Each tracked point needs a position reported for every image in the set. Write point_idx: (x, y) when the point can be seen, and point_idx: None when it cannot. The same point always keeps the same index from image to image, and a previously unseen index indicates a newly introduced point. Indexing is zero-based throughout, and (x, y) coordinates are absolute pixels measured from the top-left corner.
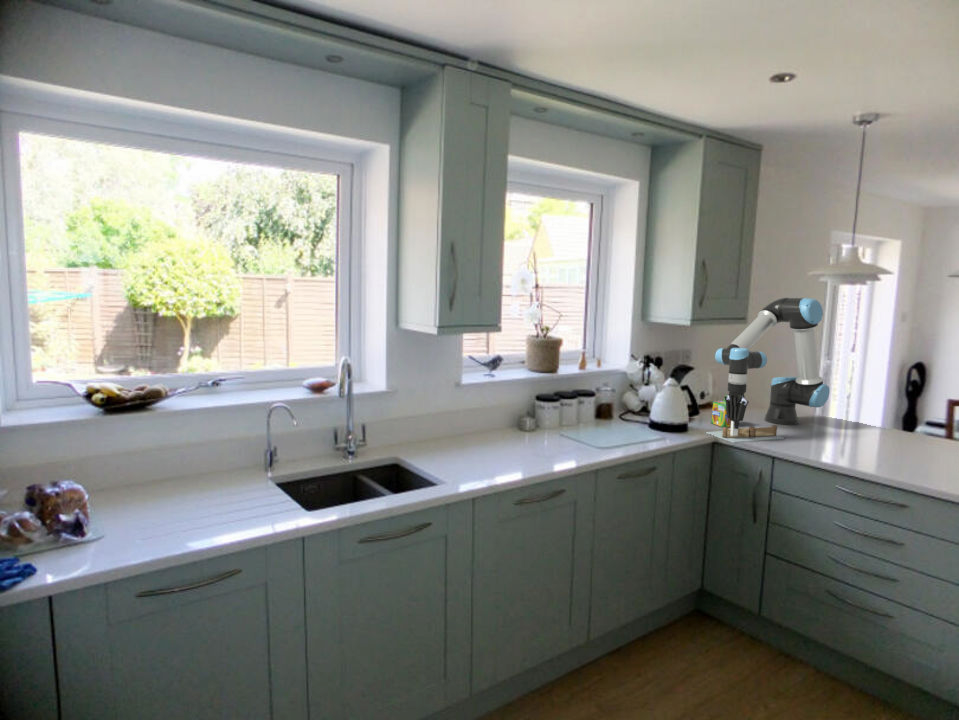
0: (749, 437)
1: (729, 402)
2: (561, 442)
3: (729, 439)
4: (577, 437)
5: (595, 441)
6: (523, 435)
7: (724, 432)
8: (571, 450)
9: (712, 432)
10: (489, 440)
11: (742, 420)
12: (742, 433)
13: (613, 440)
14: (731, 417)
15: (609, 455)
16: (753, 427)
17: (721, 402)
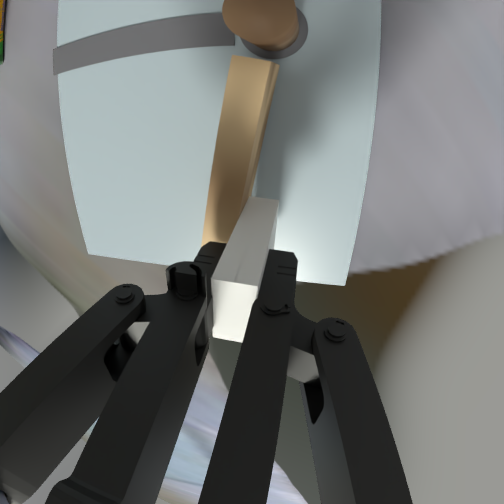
0: (285, 58)
1: (21, 478)
2: (196, 489)
3: None
4: (165, 474)
5: (196, 478)
6: None
7: None
8: None
9: (95, 225)
10: (178, 498)
11: (350, 330)
12: (261, 129)
13: (192, 469)
14: (199, 366)
15: (289, 498)
16: (280, 3)
17: None
